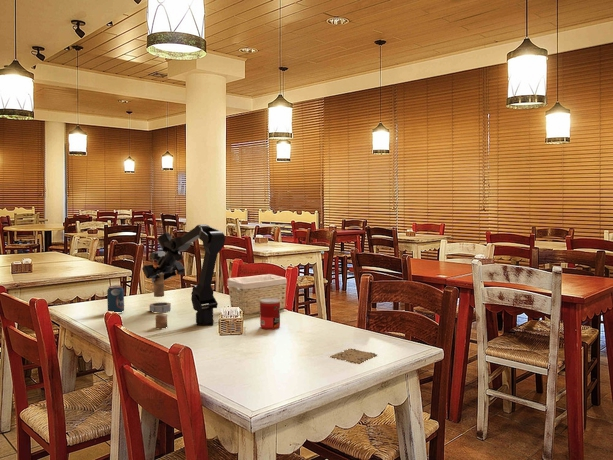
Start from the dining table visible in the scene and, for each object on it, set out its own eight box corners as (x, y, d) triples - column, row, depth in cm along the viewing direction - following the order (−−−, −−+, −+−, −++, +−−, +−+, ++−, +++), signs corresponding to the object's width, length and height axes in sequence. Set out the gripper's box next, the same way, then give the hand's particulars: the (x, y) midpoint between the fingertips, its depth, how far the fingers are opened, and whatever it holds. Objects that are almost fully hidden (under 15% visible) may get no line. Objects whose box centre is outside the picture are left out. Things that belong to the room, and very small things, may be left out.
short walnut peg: (168, 326, 212) (167, 313, 212) (166, 328, 208) (166, 316, 207) (156, 326, 211) (156, 314, 211) (154, 329, 207) (154, 316, 207)
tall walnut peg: (166, 295, 240) (165, 269, 240) (161, 297, 236) (160, 270, 235) (157, 294, 241) (156, 268, 241) (152, 296, 237) (151, 270, 236)
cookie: (348, 349, 181) (348, 346, 181) (379, 356, 173) (379, 353, 173) (327, 358, 172) (327, 355, 172) (358, 365, 164) (358, 362, 164)
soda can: (120, 314, 232) (120, 287, 231) (105, 314, 232) (104, 287, 231) (126, 311, 239) (125, 285, 238) (111, 311, 239) (110, 285, 238)
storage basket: (242, 316, 230) (242, 282, 229) (226, 309, 243) (225, 277, 242) (288, 309, 244) (288, 277, 243) (270, 303, 257) (270, 273, 256)
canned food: (277, 330, 205) (277, 302, 205) (257, 329, 207) (257, 301, 206) (282, 325, 213) (282, 298, 212) (263, 324, 215) (263, 297, 214)
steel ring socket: (171, 308, 245) (171, 302, 244) (169, 312, 236) (168, 306, 236) (151, 309, 243) (151, 302, 243) (148, 313, 235) (148, 306, 234)
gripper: (180, 244, 241) (167, 265, 250) (143, 246, 228) (131, 269, 236) (191, 262, 236) (177, 284, 245) (154, 266, 223) (141, 289, 231)
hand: (157, 281), depth 239 cm, fingers closed on tall walnut peg, 4 cm apart
